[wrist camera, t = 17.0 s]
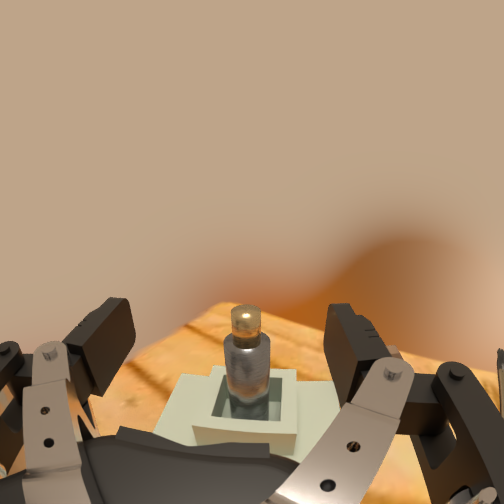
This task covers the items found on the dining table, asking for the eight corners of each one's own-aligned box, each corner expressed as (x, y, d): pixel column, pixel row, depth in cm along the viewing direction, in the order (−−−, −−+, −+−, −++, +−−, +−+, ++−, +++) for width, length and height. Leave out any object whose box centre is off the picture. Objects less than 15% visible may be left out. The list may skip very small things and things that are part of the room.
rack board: (145, 457, 21) (131, 430, 20) (183, 378, 35) (177, 349, 33) (346, 475, 19) (359, 450, 18) (333, 386, 32) (339, 356, 31)
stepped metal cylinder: (228, 432, 25) (216, 322, 21) (234, 407, 29) (226, 299, 25) (267, 435, 24) (269, 324, 20) (269, 409, 28) (271, 301, 24)
